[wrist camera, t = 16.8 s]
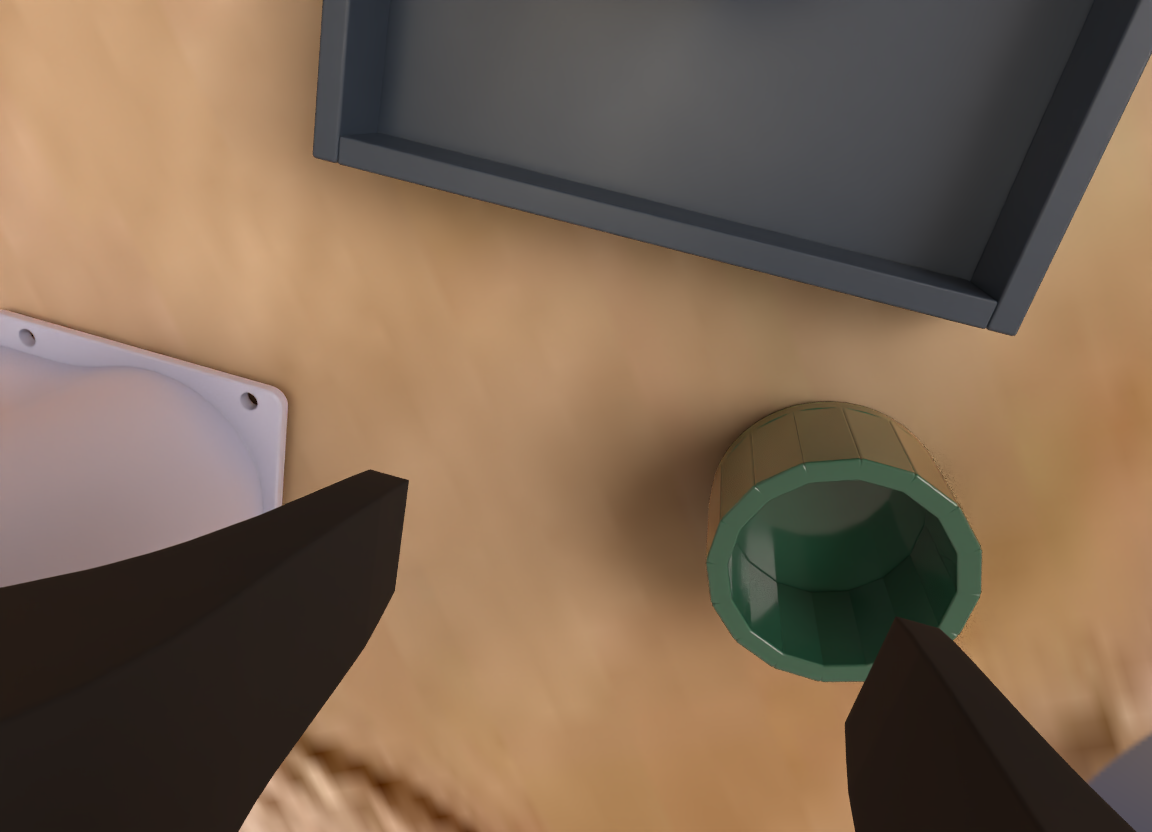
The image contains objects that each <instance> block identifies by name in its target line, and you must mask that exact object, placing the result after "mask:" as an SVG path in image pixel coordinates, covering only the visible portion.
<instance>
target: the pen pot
mask: <svg viewBox="0 0 1152 832" xmlns="http://www.w3.org/2000/svg"><path fill="white" fill-rule="evenodd" d="M706 570H707V577H708V585H709V593H710V600H711V602H712V606H713V607H714V609H715V610H716V612H717V613H718V615H719V617H720V618H721V620H722V621H723V623H724V624H725V626H726V627H727V629H728V631H729V632H730V634H731V635H732V637H733V638H734V639H735V640H736V641H737V642H738V643H739V644H740V645H742V646H743V647H745V648H746V649H747V650H749V651H750V652H752V653H753V654H754V655H756V656H757V657H759V658H760V659H761V660H763V661H764V662H766V663H767V664H768V665H770V666H771V667H774V668H775V669H779V670H782V671H785V672H789V673H792V674H795V675H799V676H802V677H805V678H809V679H812V680H815V681H821V682H865V680H866V678H867V676H868V674H869V671H870V669H871V667H872V665H873V663H874V661H875V659H876V657H877V655H878V653H879V650H880V648H881V646H882V644H883V642H884V640H885V638H886V636H887V634H888V632H889V629H890V627H891V625H892V623H893V621H894V619H895V617H896V616H897V617H900V618H904V619H907V620H911V621H915V622H918V623H922V624H925V625H929V626H933V627H936V628H940V629H941V630H942V631H943V632H944V633H945V634H946V635H947V636H948V637H950V638H951V639H952V640H954V639H955V638H956V637H957V636H958V635H959V634H960V633H961V631H962V629H963V627H964V625H965V623H966V622H967V620H968V618H969V616H970V614H971V612H972V611H973V609H974V607H975V605H976V603H977V601H978V600H979V598H980V594H981V580H982V550H981V545H980V544H979V542H978V540H977V538H976V536H975V534H974V532H973V530H972V528H971V526H970V524H969V523H968V521H967V519H966V517H965V515H964V513H963V511H962V509H961V507H960V505H959V504H958V502H957V500H956V499H955V497H954V495H953V493H952V492H951V490H950V488H949V486H948V485H947V483H946V481H945V479H944V478H943V476H942V474H941V472H940V471H939V469H938V467H937V465H936V464H935V462H934V460H933V458H932V457H931V455H930V453H929V452H928V450H927V449H926V448H925V446H923V445H922V443H921V442H920V441H919V440H918V439H917V438H916V436H915V435H914V434H912V433H911V432H910V431H909V430H908V429H907V428H906V427H904V426H903V425H902V424H900V423H899V422H897V421H896V420H894V419H893V418H891V417H889V416H887V415H885V414H883V413H881V412H878V411H876V410H873V409H870V408H867V407H864V406H860V405H855V404H850V403H843V402H813V403H806V404H800V405H796V406H793V407H789V408H785V409H783V410H780V411H778V412H775V413H773V414H770V415H769V416H767V417H765V418H763V419H761V420H760V421H758V422H756V423H755V424H754V425H752V426H751V427H750V428H748V429H747V430H746V431H744V432H743V433H742V434H741V435H740V436H739V437H738V438H737V439H736V440H735V441H734V443H733V444H732V445H731V446H730V447H729V449H728V450H727V451H726V453H725V455H724V456H723V458H722V460H721V461H720V463H719V466H718V468H717V471H716V473H715V476H714V480H713V484H712V491H711V495H710V498H709V508H708V528H707V547H706Z"/></svg>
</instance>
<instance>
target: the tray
mask: <svg viewBox="0 0 1152 832" xmlns="http://www.w3.org/2000/svg"><path fill="white" fill-rule="evenodd" d="M1151 54H1152V0H323V6H322V21H321V36H320V52H319V67H318V82H317V97H316V113H315V128H314V143H313V156H314V157H315V158H318V159H322V160H325V161H329V162H333V163H339V164H340V165H344V166H348V167H352V168H356V169H360V170H364V171H368V172H372V173H376V174H379V175H383V176H387V177H391V178H395V179H399V180H403V181H407V182H411V183H415V184H419V185H422V186H426V187H430V188H434V189H438V190H442V191H446V192H450V193H454V194H458V195H462V196H465V197H469V198H473V199H477V200H481V201H485V202H489V203H493V204H497V205H501V206H505V207H508V208H512V209H516V210H520V211H524V212H528V213H532V214H536V215H540V216H544V217H548V218H552V219H555V220H559V221H563V222H567V223H571V224H575V225H579V226H583V227H587V228H591V229H595V230H598V231H602V232H606V233H610V234H614V235H618V236H622V237H626V238H630V239H634V240H638V241H641V242H645V243H649V244H653V245H657V246H661V247H665V248H669V249H673V250H677V251H681V252H684V253H688V254H692V255H696V256H700V257H704V258H708V259H712V260H716V261H720V262H724V263H727V264H731V265H735V266H739V267H743V268H747V269H751V270H755V271H759V272H763V273H767V274H771V275H774V276H778V277H782V278H786V279H790V280H794V281H798V282H802V283H806V284H810V285H814V286H817V287H821V288H825V289H829V290H833V291H837V292H841V293H845V294H849V295H853V296H857V297H860V298H864V299H868V300H872V301H876V302H880V303H884V304H888V305H892V306H896V307H900V308H903V309H907V310H911V311H915V312H919V313H923V314H927V315H931V316H935V317H939V318H943V319H946V320H950V321H954V322H958V323H962V324H966V325H970V326H974V327H978V328H982V329H985V328H987V329H988V330H990V331H994V332H998V333H1002V334H1006V335H1010V336H1015V335H1016V333H1017V331H1018V329H1019V327H1020V325H1021V323H1022V321H1023V319H1024V317H1025V315H1026V313H1027V311H1028V309H1029V307H1030V304H1031V302H1032V300H1033V298H1034V296H1035V294H1036V292H1037V290H1038V288H1039V286H1040V284H1041V282H1042V280H1043V278H1044V275H1045V273H1046V271H1047V269H1048V267H1049V265H1050V263H1051V261H1052V259H1053V257H1054V255H1055V253H1056V251H1057V249H1058V246H1059V244H1060V242H1061V240H1062V238H1063V236H1064V234H1065V232H1066V230H1067V228H1068V226H1069V224H1070V222H1071V220H1072V217H1073V215H1074V213H1075V211H1076V209H1077V207H1078V205H1079V203H1080V201H1081V199H1082V197H1083V195H1084V193H1085V191H1086V188H1087V186H1088V184H1089V182H1090V180H1091V178H1092V176H1093V174H1094V172H1095V170H1096V168H1097V166H1098V164H1099V162H1100V159H1101V157H1102V155H1103V153H1104V151H1105V149H1106V147H1107V145H1108V143H1109V141H1110V139H1111V137H1112V135H1113V133H1114V130H1115V128H1116V126H1117V124H1118V122H1119V120H1120V118H1121V116H1122V114H1123V112H1124V110H1125V108H1126V106H1127V104H1128V101H1129V99H1130V97H1131V95H1132V93H1133V91H1134V89H1135V87H1136V85H1137V83H1138V81H1139V79H1140V77H1141V75H1142V72H1143V70H1144V68H1145V66H1146V64H1147V62H1148V60H1149V58H1150V56H1151Z"/></svg>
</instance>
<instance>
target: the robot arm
mask: <svg viewBox="0 0 1152 832" xmlns="http://www.w3.org/2000/svg"><path fill="white" fill-rule="evenodd" d="M30 331H31V332H30ZM31 333H32V334H33V335H34V338H35V339H34V338H33V337H32V335H31ZM248 393H250V394H252V395H254V397H255V398H256V399H257V405H256V404H254V403H252V402H251V400H250V399H249V396H248ZM287 415H288V402H287V399H286V397H285V395H284V393H283V392H281V391H280V390H279V389H278V388H276V387H274V386H271V385H268V384H264V383H260V382H257V381H253V380H250V379H246V378H243V377H239V376H236V375H232V374H229V373H225V372H222V371H218V370H215V369H211V368H208V367H204V366H201V365H197V364H194V363H190V362H187V361H183V360H180V359H176V358H173V357H169V356H166V355H162V354H159V353H155V352H152V351H148V350H145V349H141V348H138V347H134V346H131V345H127V344H124V343H120V342H117V341H113V340H110V339H106V338H102V337H99V336H95V335H92V334H88V333H85V332H81V331H78V330H74V329H71V328H67V327H64V326H60V325H57V324H53V323H50V322H46V321H43V320H39V319H36V318H32V317H29V316H25V315H22V314H18V313H15V312H11V311H8V310H2V309H0V832H238V831H239V829H240V828H241V826H242V824H243V823H244V821H245V819H246V817H247V816H248V814H249V812H250V811H251V809H252V807H253V805H254V804H255V802H256V801H257V799H258V798H259V796H260V795H261V793H262V792H263V790H264V788H265V787H266V785H267V784H268V782H269V781H270V779H271V778H272V776H273V775H274V773H275V772H276V770H277V769H278V768H279V766H280V765H281V763H282V762H283V761H284V759H285V758H286V757H287V755H288V754H289V752H290V751H291V750H292V748H293V747H294V745H295V744H296V743H297V741H298V740H299V739H300V737H301V736H302V734H303V733H304V732H305V730H306V729H307V727H308V726H309V725H310V723H311V722H312V721H313V719H314V718H315V716H316V715H317V714H318V712H319V711H320V709H321V708H322V707H323V705H324V704H325V702H326V701H327V700H328V698H329V697H330V696H331V694H332V693H333V691H334V690H335V689H336V687H337V686H338V684H339V683H340V682H341V680H342V679H343V677H344V676H345V675H346V673H347V672H348V670H349V669H350V667H351V666H352V665H353V663H354V662H355V660H356V659H357V658H358V656H359V655H360V653H361V652H362V650H363V649H364V647H365V646H366V644H367V642H368V640H369V639H370V637H371V635H372V633H373V631H374V630H375V628H376V626H377V624H378V622H379V620H380V618H381V617H382V615H383V613H384V611H385V609H386V607H387V605H388V603H389V601H390V599H391V597H392V595H393V593H394V592H395V585H396V577H397V569H398V562H399V554H400V546H401V538H402V530H403V522H404V514H405V507H406V499H407V491H408V483H409V480H406V479H402V478H399V477H395V476H392V475H388V474H384V473H381V472H377V471H374V470H368V471H365V472H362V473H359V474H357V475H354V476H352V477H349V478H347V479H344V480H342V481H339V482H337V483H335V484H332V485H330V486H328V487H325V488H323V489H321V490H318V491H316V492H314V493H311V494H309V495H307V496H304V497H302V498H299V499H297V500H295V501H292V502H290V503H287V504H285V505H282V498H283V481H284V465H285V448H286V432H287ZM845 740H846V764H847V779H848V793H849V799H850V805H851V811H852V816H853V821H854V827H855V832H1136V831H1135V830H1134V829H1133V828H1132V827H1131V826H1130V825H1129V824H1128V823H1127V822H1126V821H1125V820H1124V819H1123V818H1122V817H1121V816H1119V814H1117V812H1115V811H1114V810H1113V809H1112V808H1111V807H1110V806H1109V805H1108V804H1107V803H1106V802H1105V801H1104V800H1103V799H1102V798H1101V797H1100V796H1099V795H1098V794H1097V793H1096V792H1095V791H1094V790H1093V789H1092V788H1091V787H1090V786H1089V785H1088V784H1087V783H1086V782H1085V781H1084V780H1083V779H1082V778H1081V777H1080V776H1079V775H1078V774H1077V773H1076V772H1075V771H1074V770H1073V769H1072V768H1071V767H1070V766H1069V765H1068V763H1067V762H1066V761H1065V760H1064V759H1063V758H1062V757H1061V756H1060V755H1059V754H1058V753H1057V752H1056V751H1055V750H1054V749H1053V748H1052V747H1051V746H1050V745H1049V744H1048V743H1047V742H1046V740H1045V739H1044V738H1043V737H1042V736H1041V735H1040V734H1039V733H1038V732H1037V731H1036V730H1035V729H1034V728H1033V727H1032V725H1031V724H1030V723H1029V722H1028V721H1027V720H1026V719H1025V718H1024V717H1023V716H1022V715H1021V714H1020V712H1019V711H1018V710H1017V709H1016V708H1015V707H1014V706H1013V705H1012V704H1011V703H1010V702H1009V700H1008V699H1007V698H1006V697H1005V696H1004V695H1003V694H1002V693H1001V692H1000V691H999V690H998V688H997V687H996V686H995V685H994V684H993V683H992V682H991V681H990V680H989V679H988V677H987V676H986V675H985V674H984V673H983V672H982V671H981V670H980V669H979V668H978V667H977V666H976V664H975V663H974V662H973V661H972V660H971V659H970V658H969V657H968V656H967V655H966V654H965V653H964V652H963V651H962V650H961V649H960V647H959V646H958V645H957V644H956V643H955V642H954V641H953V640H952V639H951V638H950V637H948V636H947V635H946V634H945V633H944V632H943V631H942V630H941V629H940V628H936V627H933V626H929V625H925V624H922V623H918V622H915V621H911V620H907V619H904V618H900V617H897V616H896V617H895V619H894V621H893V623H892V625H891V627H890V629H889V632H888V634H887V636H886V638H885V640H884V642H883V644H882V646H881V648H880V650H879V653H878V655H877V657H876V659H875V661H874V663H873V665H872V667H871V669H870V671H869V674H868V676H867V678H866V680H865V682H864V684H863V686H862V688H861V690H860V692H859V695H858V697H857V699H856V701H855V703H854V705H853V707H852V709H851V711H850V713H849V716H848V718H847V720H846V722H845Z"/></svg>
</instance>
